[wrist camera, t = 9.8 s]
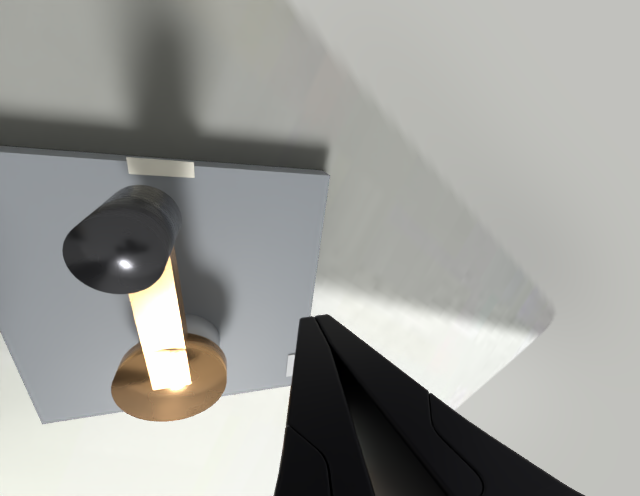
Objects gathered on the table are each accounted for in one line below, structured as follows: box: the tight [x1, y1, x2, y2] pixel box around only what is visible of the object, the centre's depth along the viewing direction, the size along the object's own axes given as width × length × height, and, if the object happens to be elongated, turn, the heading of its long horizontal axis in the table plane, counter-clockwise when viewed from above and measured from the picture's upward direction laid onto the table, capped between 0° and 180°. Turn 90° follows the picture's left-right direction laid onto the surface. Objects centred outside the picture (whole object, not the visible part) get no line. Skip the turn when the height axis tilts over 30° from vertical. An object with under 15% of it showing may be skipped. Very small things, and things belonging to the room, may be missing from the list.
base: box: [0, 146, 330, 424], centre depth 18 cm, size 18×18×4 cm
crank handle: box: [62, 185, 227, 421], centre depth 14 cm, size 14×6×4 cm, turn 175°
